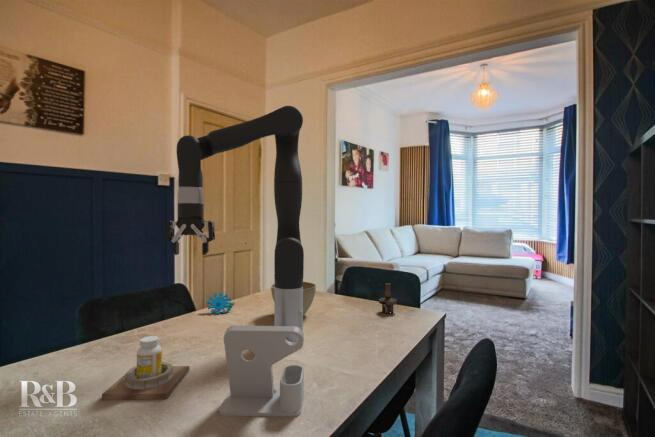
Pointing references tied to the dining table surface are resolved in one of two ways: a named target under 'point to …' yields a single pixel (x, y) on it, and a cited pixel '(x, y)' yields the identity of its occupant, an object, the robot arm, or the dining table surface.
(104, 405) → the dining table surface
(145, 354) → the supplement bottle
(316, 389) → the dining table surface
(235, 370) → the white tool holder stand
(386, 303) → the industrial component
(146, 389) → the walnut board
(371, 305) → the dining table surface
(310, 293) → the flower pot
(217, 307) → the blue spiky rounded piece
